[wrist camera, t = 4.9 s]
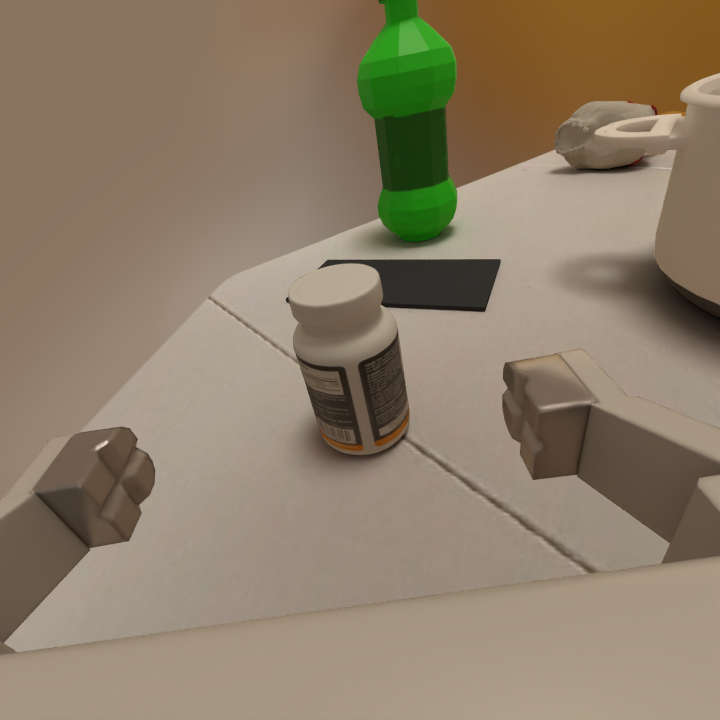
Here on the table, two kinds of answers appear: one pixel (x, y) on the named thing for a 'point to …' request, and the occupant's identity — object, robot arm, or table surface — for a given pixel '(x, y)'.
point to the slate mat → (433, 282)
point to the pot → (684, 189)
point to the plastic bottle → (411, 121)
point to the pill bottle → (350, 358)
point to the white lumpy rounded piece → (581, 129)
